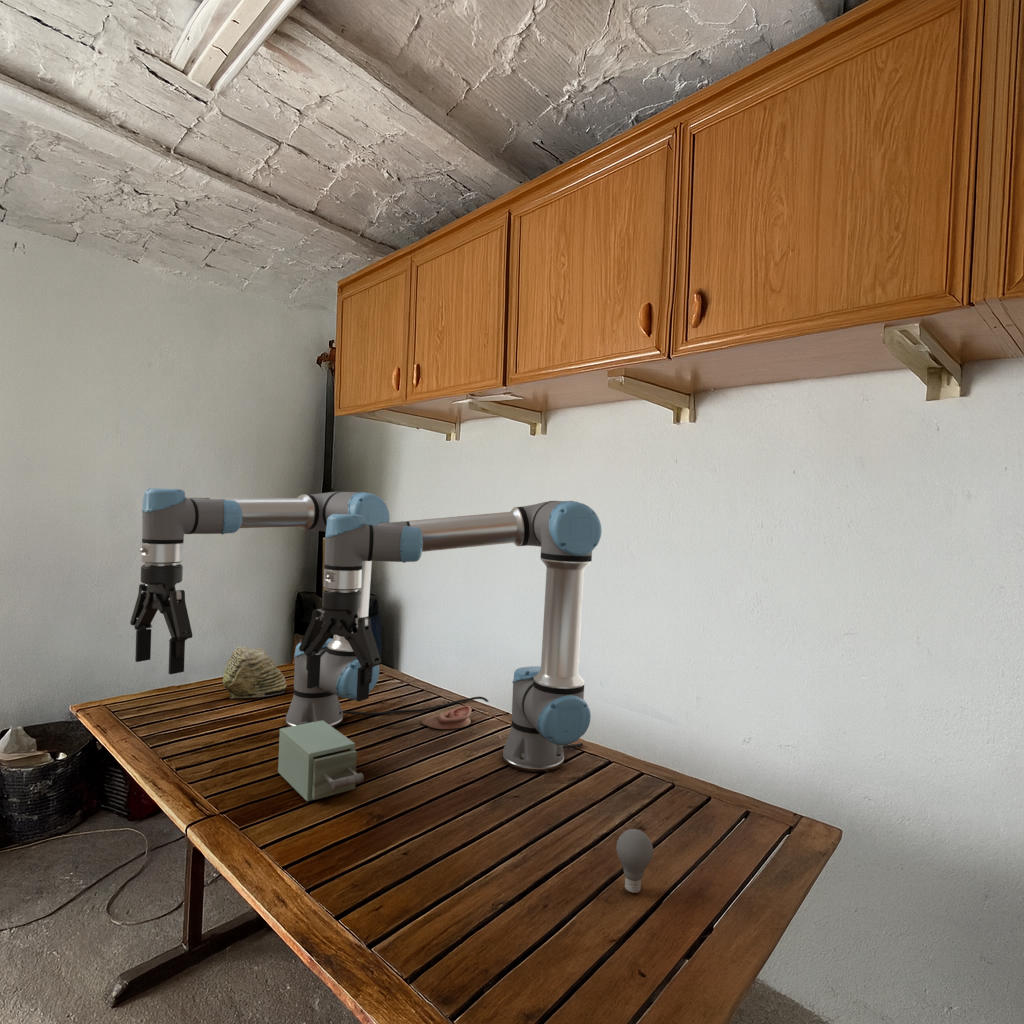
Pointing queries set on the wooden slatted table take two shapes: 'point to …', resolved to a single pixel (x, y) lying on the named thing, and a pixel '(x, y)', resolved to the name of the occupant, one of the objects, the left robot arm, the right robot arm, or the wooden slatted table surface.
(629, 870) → the light bulb
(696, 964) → the wooden slatted table surface
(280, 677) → the fossil
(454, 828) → the wooden slatted table surface
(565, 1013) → the wooden slatted table surface
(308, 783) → the cabinet
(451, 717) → the anatomical model
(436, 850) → the wooden slatted table surface
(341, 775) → the drawer
